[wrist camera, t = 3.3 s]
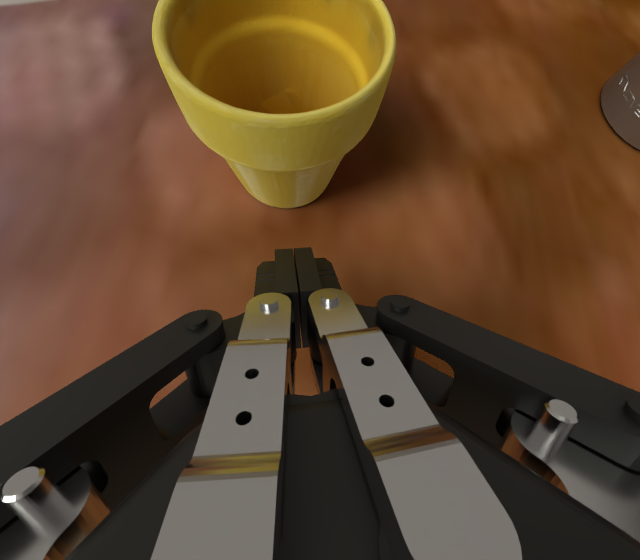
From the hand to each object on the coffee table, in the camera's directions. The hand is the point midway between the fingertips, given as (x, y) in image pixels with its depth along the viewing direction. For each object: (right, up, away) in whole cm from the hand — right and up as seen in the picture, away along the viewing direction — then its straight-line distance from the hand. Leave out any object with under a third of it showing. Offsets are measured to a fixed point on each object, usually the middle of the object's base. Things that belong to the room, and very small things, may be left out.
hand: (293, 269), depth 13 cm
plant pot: (-1, +8, +10) cm, 12 cm away
